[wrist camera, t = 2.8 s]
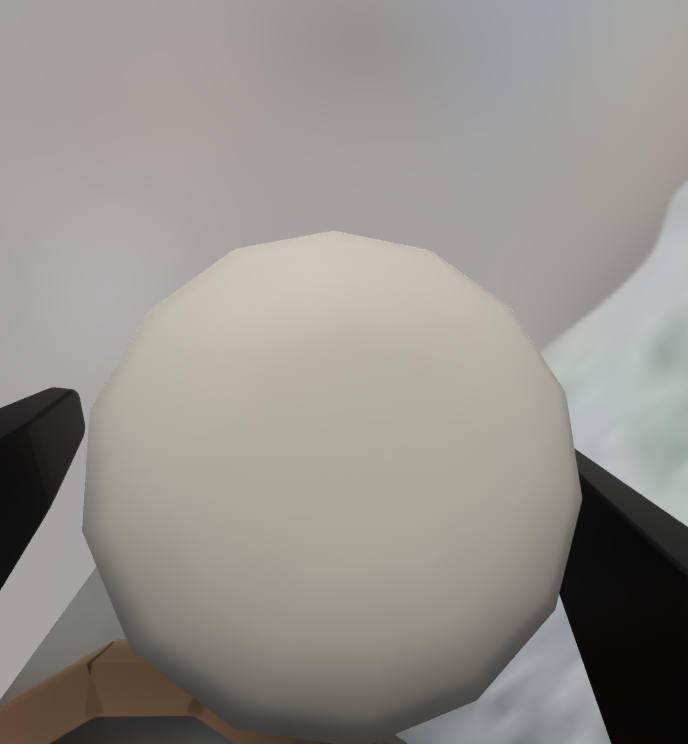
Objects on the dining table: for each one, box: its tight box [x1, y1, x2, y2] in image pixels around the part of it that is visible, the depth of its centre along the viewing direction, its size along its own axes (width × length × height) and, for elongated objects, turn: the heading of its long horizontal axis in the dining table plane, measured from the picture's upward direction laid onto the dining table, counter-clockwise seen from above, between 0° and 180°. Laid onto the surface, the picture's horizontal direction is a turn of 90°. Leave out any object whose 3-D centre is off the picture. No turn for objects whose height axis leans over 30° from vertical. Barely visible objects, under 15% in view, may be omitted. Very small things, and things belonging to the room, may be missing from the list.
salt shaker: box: [82, 231, 582, 744], centre depth 9 cm, size 6×6×13 cm
